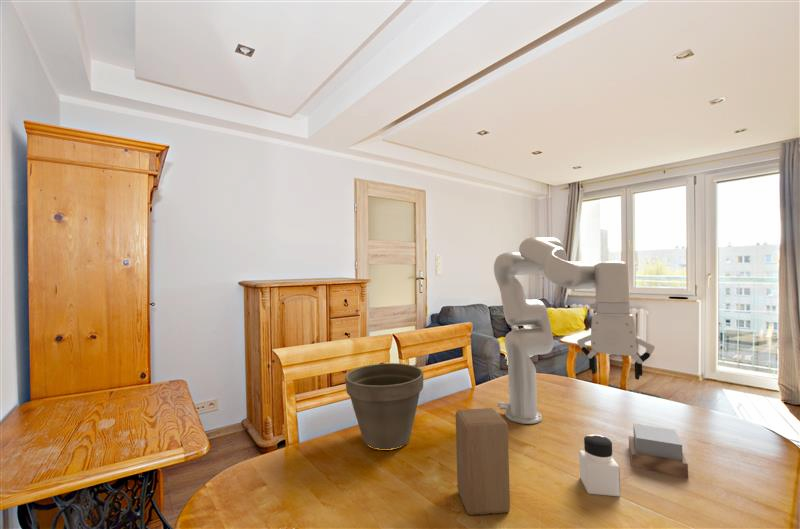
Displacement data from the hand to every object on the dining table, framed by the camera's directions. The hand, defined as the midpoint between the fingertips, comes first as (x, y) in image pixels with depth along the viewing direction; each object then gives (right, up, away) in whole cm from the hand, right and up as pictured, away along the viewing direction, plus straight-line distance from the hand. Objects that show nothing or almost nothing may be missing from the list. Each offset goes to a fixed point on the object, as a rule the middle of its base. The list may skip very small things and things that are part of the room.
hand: (615, 375), depth 95 cm
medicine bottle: (-7, -26, -5) cm, 27 cm away
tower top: (+15, -22, +7) cm, 28 cm away
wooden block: (-36, -27, -9) cm, 46 cm away
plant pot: (-60, -28, +23) cm, 70 cm away
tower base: (+15, -26, +7) cm, 31 cm away
